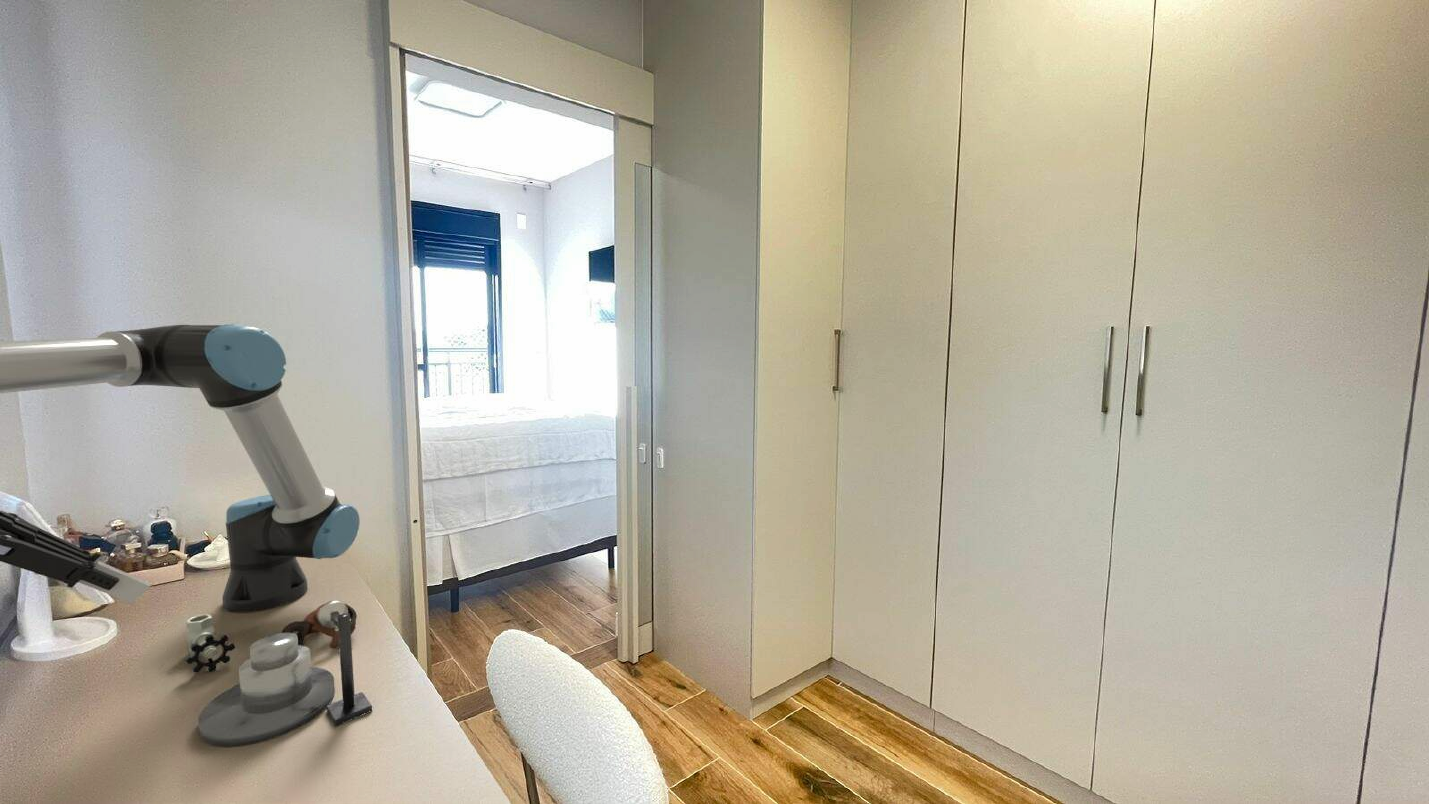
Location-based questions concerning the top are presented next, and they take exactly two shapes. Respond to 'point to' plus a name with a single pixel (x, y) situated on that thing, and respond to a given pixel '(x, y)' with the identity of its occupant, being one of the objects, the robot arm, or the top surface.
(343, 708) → the dial stand
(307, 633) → the brown irregular ringed piece
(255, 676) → the cover
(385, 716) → the top surface
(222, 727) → the grey metal flat disc
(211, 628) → the valve
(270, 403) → the robot arm
